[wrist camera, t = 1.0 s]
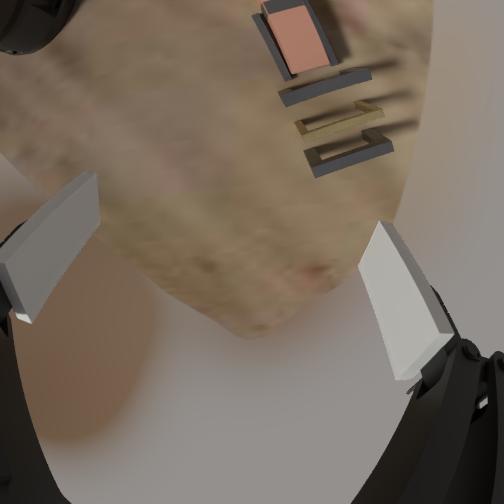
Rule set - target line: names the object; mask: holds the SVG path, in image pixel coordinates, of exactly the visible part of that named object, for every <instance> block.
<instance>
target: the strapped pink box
mask: <svg viewBox="0 0 504 504" xmlns="http://www.w3.org/2000/svg"><path fill="white" fill-rule="evenodd" d="M257 1H258V3H259V5H260V7H261V10H262V12H263V15H264V17H265V19H266V21H268V23H269V25H270V27H271V29H272V32H273V34H274V36H275V38H276V40H277V43H278V45H279V47H280V49H281V52H282V54H283V56H284V58H285V61H286V63H287V66H288V68H289V70H290V73H291V74H295V73H299V72H302V71H305V70H309V69H313V68H316V67H320V66H324V65H328V64H330V62H329V60H328V57H327V54H326V52H325V49H324V47H323V45H322V42H321V40H320V37H319V35H318V33H317V30H316V28H315V26H314V24H313V21H312V19H311V17H310V15H309V13H308V11H307V8H306V6H305V3H304V1H303V0H257Z"/></svg>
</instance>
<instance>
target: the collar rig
mask: <svg viewBox="0 0 504 504" xmlns="http://www.w3.org/2000/svg"><path fill="white" fill-rule="evenodd" d="M303 1H304V3H305V6H306V8H307V11H308V13H309V15H310V17H311V19H312V21H313V24H314V26H315V28H316V30H317V33H318V35H319V37H320V40H321V42H322V45H323V47H324V49H325V52H326V54H327V57H328V60H329V62H330V65H331V66H333V65H337V64H338V61H337V59H336V57H335V54H334V52H333V50H332V48H331V45H330V43H329V41H328V39H327V37H326V35H325V33H324V31H323V29H322V27H321V25H320V23H319V21H318V19H317V17H316V15H315V13H314V11H313V9H312V7H311V5H310V3H309V2H308V0H303ZM252 18H253V20H254V22H255V23H256V25H257V27H258V29H259V31H260V33H261V34H262V36H263V38H264V40H265V42H266V44H267V46H268V48H269V50H270V52H271V54H272V56H273V58H274V60H275V62H276V64H277V66H278V68H279V70H280V72H281V74H282V76H283V78H284V80H285V82H286V81H288V80H291V79H292V78H291V76H290V74H289V72H288V70H287V67H286V65H285V63H284V61H283V59H282V57H281V55H280V53H279V51H278V49H277V47H276V45H275V43H274V41H273V39H272V37H271V36H270V34H269V32H268V30H267V28H266V26H265V24H264V22H263V21H262V19H261V17H260V15H259V13H257V14H255V15H252ZM339 72H340V74H341V75H338V76H335V77H332V78H329V79H325V80H322V81H319V82H316V83H313V84H310V85H307V86H304V87H302V88H299V89H296V90H292V89H290V88H287V89H284V90H282V91H279V92H278V94H279V96H280V98H281V100H282V102H283V104H284V105H285V107H288V106H291V105H293V104H296V103H299V102H302V101H305V100H307V99H310V98H313V97H316V96H319V95H322V94H325V93H328V92H331V91H334V90H337V89H341V88H344V87H347V86H351V85H354V84H358V83H361V82H365V81H368V80H372V77H371V74H370V71H369V69H368V68H348V69H345V70H341V71H339ZM354 104H355V107H356V108H357V109H359V110H361V111H363V112H365V113H362V114H358V115H355V116H352V117H349V118H346V119H343V120H340V121H337V122H334V123H331V124H328V125H325V126H322V127H319V128H316V129H314V130H311V131H308V130H307V128H306V127H305V126H304V124H303V123H302V122H301V120H299V121H297V122H294V123H295V125H296V128H297V130H298V131H299V133H300V135H301V137H302V139H303V140H304V142H305V143H306V142H309V141H312V140H315V139H317V138H320V137H323V136H326V135H329V134H332V133H335V132H338V131H341V130H344V129H347V128H350V127H353V126H356V125H359V124H362V123H365V122H368V121H372V120H375V119H378V118H382V117H385V115H384V112H383V109H381V108H379V107H376V106H373V105H371V104H368V103H365V102H363V101H360V100H359V101H356V102H354ZM361 132H362V135H363V138H364V140H365V141H366V142H368V143H369V144H367V145H364V146H361V147H358V148H355V149H352V150H349V151H347V152H344V153H341V154H338V155H335V156H332V157H329V158H326V159H324V160H322V159H321V158H320V156H319V154H318V153H317V151H316V149H315V148H314V147H313V148H310V149H307V150H305V151H304V153H305V156H306V158H307V161H308V163H309V165H310V167H311V169H312V172H313V174H314V176H315V178H317V177H320V176H323V175H326V174H329V173H331V172H334V171H337V170H340V169H343V168H346V167H348V166H351V165H354V164H357V163H360V162H363V161H366V160H369V159H372V158H375V157H378V156H381V155H384V154H387V153H390V152H393V151H394V148H393V144H392V141H391V140H389V139H388V138H386V137H385V136H383V135H382V134H380V133H379V132H377V131H375V130H374V129H372V128H369V129H366V130H363V131H361Z"/></svg>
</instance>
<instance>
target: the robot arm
mask: <svg viewBox="0 0 504 504" xmlns="http://www.w3.org/2000/svg"><path fill="white" fill-rule="evenodd" d="M74 1H75V0H0V51H1V52H4V53H7V54H10V55H24V54H30V53H34V52H36V51H38V50H40V49H41V48H43V47H44V46H45V45H47V44H48V43H49V42H50V41H51V40H52V39H53V38H54V37H55V36H56V34H57V33H58V32H59V31H60V29H61V28H62V26H63V25H64V23H65V22H66V20H67V18H68V16H69V14H70V12H71V10H72V7H73V4H74ZM100 224H101V219H100V209H99V198H98V185H97V172H85V171H83V172H82V173H81V174H79V175H78V176H77V177H76V178H74V179H73V180H72V181H71V182H70V183H68V184H67V185H66V186H65V187H64V188H62V189H61V190H60V191H59V192H58V193H56V194H55V195H54V196H53V197H52V198H51V199H50V200H49V201H47V202H46V203H45V204H44V205H43V206H42V207H41V208H40V209H39V210H38V211H37V212H35V213H34V214H33V215H32V216H31V217H30V218H29V219H28V220H26V221H25V222H23V223H22V224H20V225H18V226H17V227H16V228H15V229H14V230H13V231H12V232H11V233H10V235H8V236H7V237H6V238H5V239H4V242H2V243H1V244H0V504H71V503H70V502H69V501H68V500H67V499H66V498H65V497H64V496H63V495H62V493H61V492H60V490H59V488H58V486H57V484H56V482H55V480H54V478H53V476H52V474H51V471H50V470H49V467H48V464H47V462H46V459H45V457H44V454H43V452H42V450H41V447H40V444H39V441H38V438H37V436H36V433H35V430H34V427H33V424H32V421H31V417H30V414H29V410H28V407H27V403H26V400H25V396H24V392H23V388H22V383H21V379H20V374H19V369H18V364H17V359H16V353H15V346H14V340H13V332H12V323H11V318H10V316H9V314H8V313H9V311H10V310H11V308H13V310H14V312H15V314H16V316H17V317H18V319H21V320H23V321H26V322H29V323H31V324H32V323H33V321H34V320H35V318H36V316H37V315H38V313H39V311H40V310H41V308H42V306H43V305H44V303H45V302H46V300H47V298H48V297H49V295H50V294H51V292H52V291H53V289H54V288H55V286H56V284H57V283H58V281H59V280H60V278H61V277H62V276H63V274H64V273H65V271H66V270H67V268H68V267H69V265H70V264H71V263H72V261H73V259H74V258H75V257H76V256H77V254H78V253H79V252H80V250H81V249H82V247H83V246H84V245H85V243H86V242H87V241H88V239H89V238H90V237H91V236H92V234H93V233H94V232H95V230H96V229H97V228H98V227H99V225H100ZM358 268H359V270H360V273H361V275H362V278H363V281H364V283H365V286H366V289H367V292H368V294H369V297H370V300H371V303H372V306H373V309H374V311H375V314H376V317H377V320H378V323H379V326H380V330H381V333H382V336H383V339H384V342H385V345H386V349H387V352H388V355H389V358H390V362H391V365H392V369H393V373H394V376H395V380H409V379H412V378H413V377H414V376H415V375H416V374H417V373H418V372H419V371H421V374H422V378H421V379H420V380H419V381H418V382H417V383H416V384H415V385H414V386H413V387H411V388H410V389H409V390H408V392H407V393H406V394H410V392H412V391H414V392H413V395H412V396H411V399H410V402H409V404H408V406H407V408H406V410H405V413H404V415H403V417H402V419H401V421H400V423H399V425H398V427H397V429H396V431H395V433H394V435H393V437H392V438H391V440H390V442H389V444H388V446H387V448H386V450H385V451H384V453H383V455H382V456H381V458H380V460H379V461H378V463H377V465H376V467H375V468H374V470H373V471H372V473H371V475H370V476H369V478H368V479H367V481H366V482H365V484H364V485H363V487H362V488H361V490H360V491H359V493H358V494H357V496H356V497H355V498H354V500H353V501H352V503H351V504H504V353H502V352H500V351H496V352H495V353H494V354H493V355H492V356H491V357H490V358H489V359H488V358H485V357H482V356H481V355H480V352H479V350H478V348H477V347H476V345H475V344H474V343H472V342H471V341H470V340H468V339H463V338H462V339H461V337H460V335H459V333H458V331H457V329H456V327H455V325H454V323H453V321H452V318H451V317H450V315H449V313H447V309H446V307H445V305H443V304H444V303H443V301H442V299H441V297H440V296H439V294H438V293H437V292H436V291H435V290H434V288H433V287H432V286H431V285H430V284H429V283H428V281H427V279H426V277H425V276H424V274H423V272H422V270H421V269H420V267H419V265H418V264H417V262H416V260H415V259H414V257H413V255H412V254H411V252H410V250H409V249H408V247H407V246H406V244H405V243H404V241H403V239H402V238H401V236H400V235H399V233H398V232H397V230H396V229H395V227H394V226H393V224H391V223H387V222H383V221H379V222H378V224H377V226H376V229H375V231H374V233H373V235H372V237H371V240H370V242H369V244H368V246H367V248H366V250H365V252H364V255H363V257H362V259H361V261H360V263H359V265H358ZM487 397H488V404H486V405H485V406H484V407H482V408H481V409H480V407H479V403H480V402H482V401H483V400H484V399H486V398H487Z"/></svg>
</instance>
